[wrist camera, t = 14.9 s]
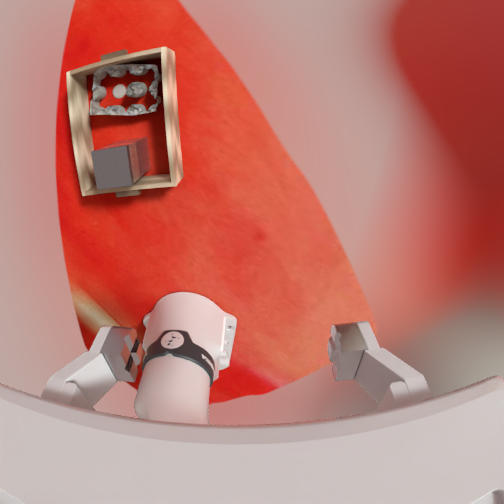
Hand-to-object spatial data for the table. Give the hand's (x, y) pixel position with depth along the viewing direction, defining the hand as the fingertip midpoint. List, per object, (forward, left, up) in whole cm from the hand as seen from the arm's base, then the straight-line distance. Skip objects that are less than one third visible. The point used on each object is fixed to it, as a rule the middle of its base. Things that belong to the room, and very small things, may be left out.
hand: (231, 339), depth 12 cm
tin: (+2, +16, -34) cm, 38 cm away
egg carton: (+12, +16, -35) cm, 40 cm away
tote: (+7, +16, -34) cm, 39 cm away
